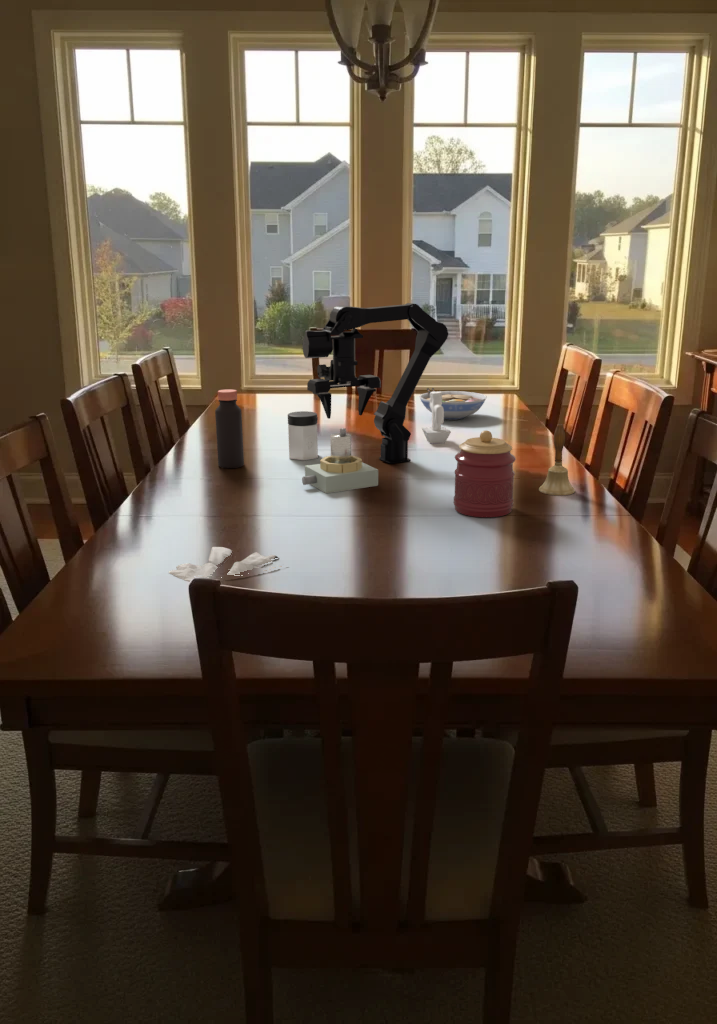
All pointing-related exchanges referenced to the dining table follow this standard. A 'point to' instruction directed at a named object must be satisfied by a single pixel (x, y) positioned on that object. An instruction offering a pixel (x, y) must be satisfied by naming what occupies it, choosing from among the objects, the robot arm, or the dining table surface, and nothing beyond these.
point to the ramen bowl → (456, 403)
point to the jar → (302, 435)
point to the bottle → (229, 430)
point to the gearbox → (340, 475)
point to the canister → (484, 477)
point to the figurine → (436, 421)
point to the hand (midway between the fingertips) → (344, 416)
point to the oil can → (341, 447)
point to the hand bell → (557, 469)
